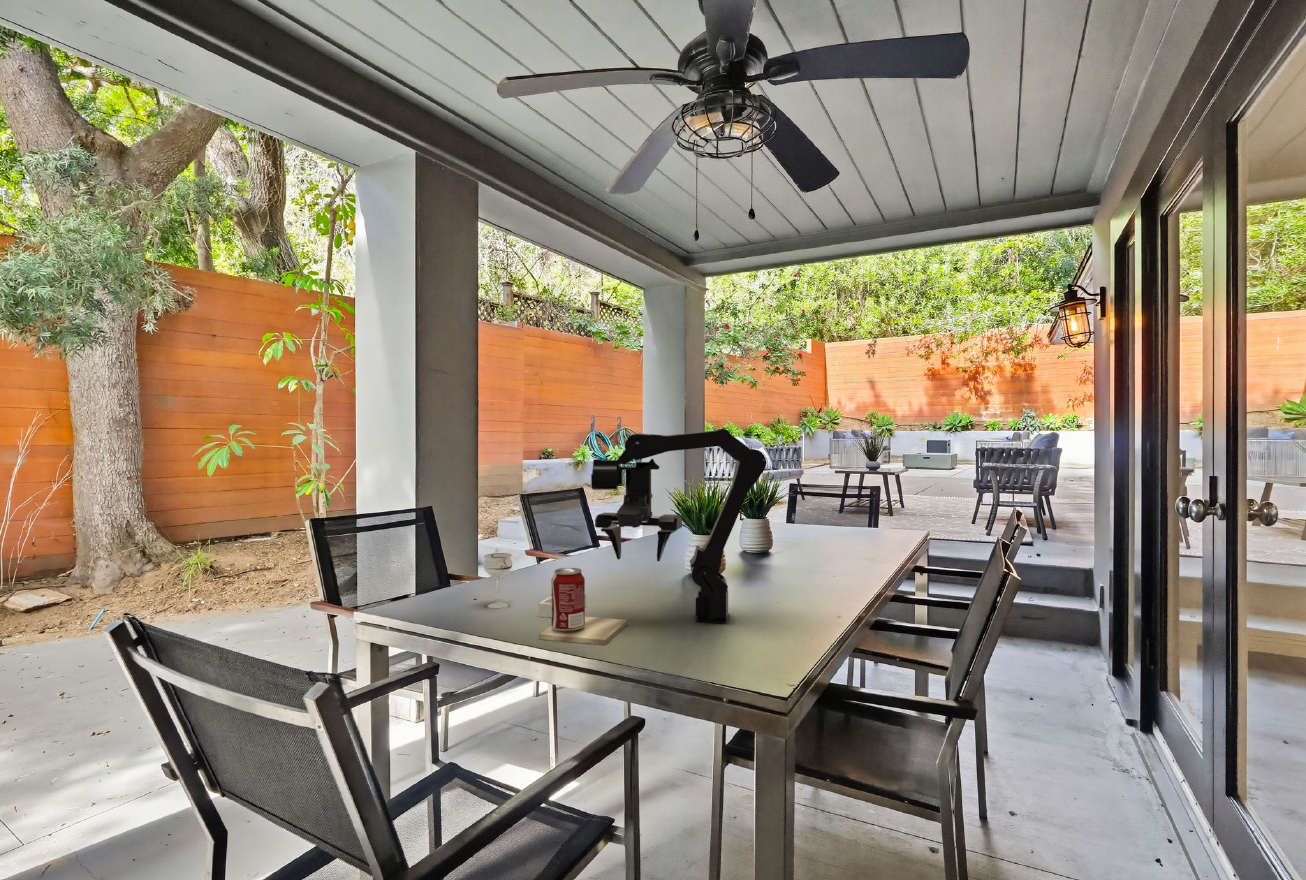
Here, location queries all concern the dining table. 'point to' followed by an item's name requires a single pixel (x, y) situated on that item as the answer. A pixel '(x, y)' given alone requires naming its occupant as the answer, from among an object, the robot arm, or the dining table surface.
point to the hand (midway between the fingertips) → (638, 560)
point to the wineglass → (497, 571)
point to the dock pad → (588, 631)
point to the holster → (547, 608)
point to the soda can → (568, 600)
